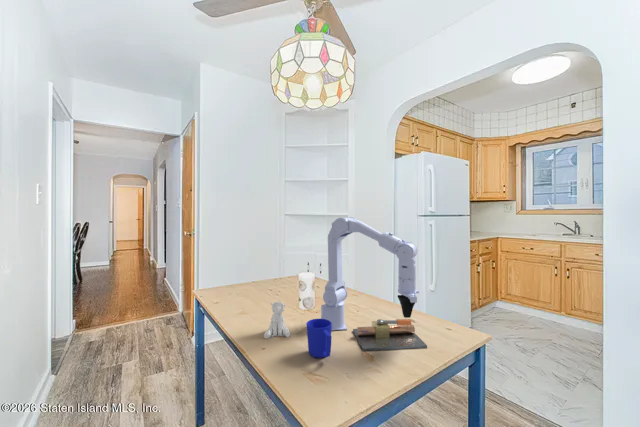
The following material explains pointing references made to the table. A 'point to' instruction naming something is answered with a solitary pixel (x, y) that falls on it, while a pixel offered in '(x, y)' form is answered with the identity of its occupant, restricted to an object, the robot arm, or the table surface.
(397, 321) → the valve lever
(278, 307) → the sitting furry creature
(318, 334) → the mug
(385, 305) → the table surface
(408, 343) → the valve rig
